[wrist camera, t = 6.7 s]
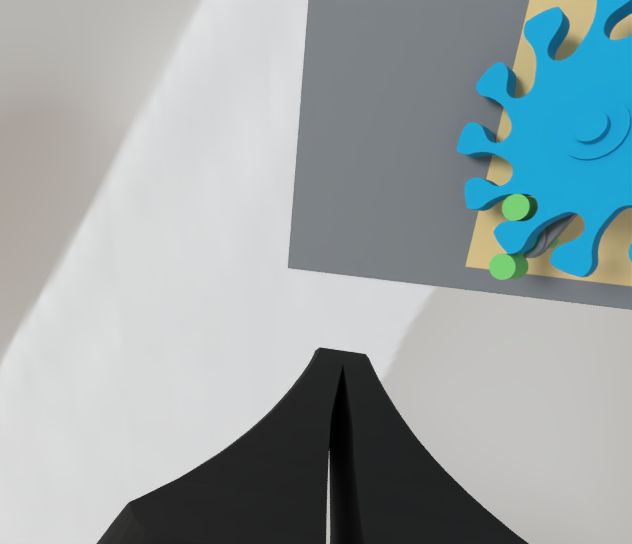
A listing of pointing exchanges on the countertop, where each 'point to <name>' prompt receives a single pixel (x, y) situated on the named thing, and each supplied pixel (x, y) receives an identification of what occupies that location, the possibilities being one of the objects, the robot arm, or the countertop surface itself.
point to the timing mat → (425, 147)
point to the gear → (559, 144)
